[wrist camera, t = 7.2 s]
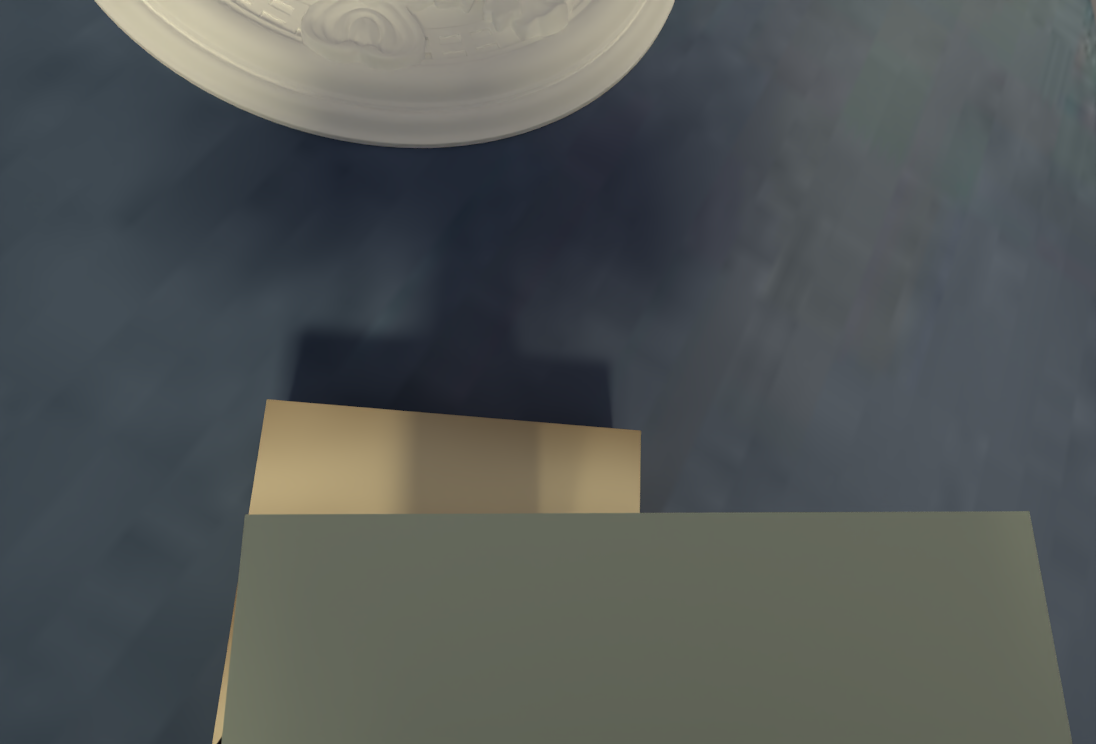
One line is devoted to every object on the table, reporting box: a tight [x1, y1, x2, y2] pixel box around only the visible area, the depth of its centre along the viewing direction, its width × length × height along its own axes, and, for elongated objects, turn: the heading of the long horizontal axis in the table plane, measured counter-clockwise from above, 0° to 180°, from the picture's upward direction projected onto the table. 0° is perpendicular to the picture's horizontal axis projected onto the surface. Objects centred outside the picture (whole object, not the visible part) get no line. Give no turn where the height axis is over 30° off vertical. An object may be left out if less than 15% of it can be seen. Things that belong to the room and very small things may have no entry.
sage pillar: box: [221, 511, 1072, 744], centre depth 9 cm, size 5×5×13 cm
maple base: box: [212, 399, 641, 744], centre depth 20 cm, size 12×12×3 cm
